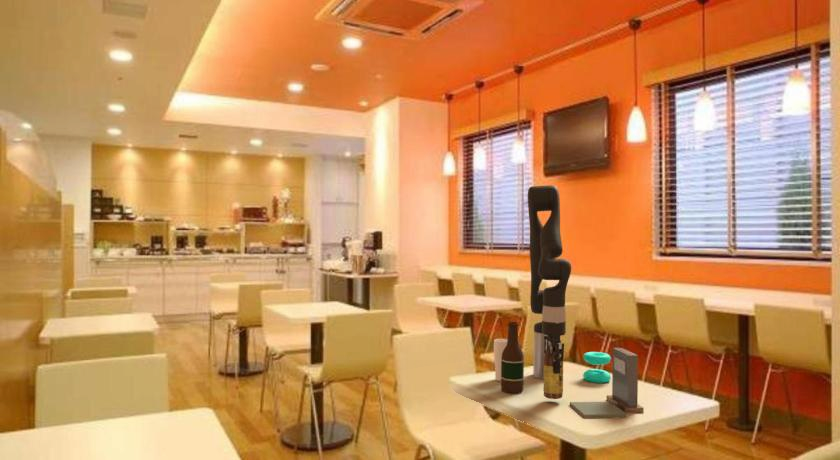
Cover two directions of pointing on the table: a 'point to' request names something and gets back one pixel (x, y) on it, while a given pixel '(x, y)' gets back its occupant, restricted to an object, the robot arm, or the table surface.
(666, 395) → the table surface
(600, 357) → the donuts
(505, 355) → the beer bottle
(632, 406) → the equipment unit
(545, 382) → the sauce bottle
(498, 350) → the drinking glass
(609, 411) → the mat
